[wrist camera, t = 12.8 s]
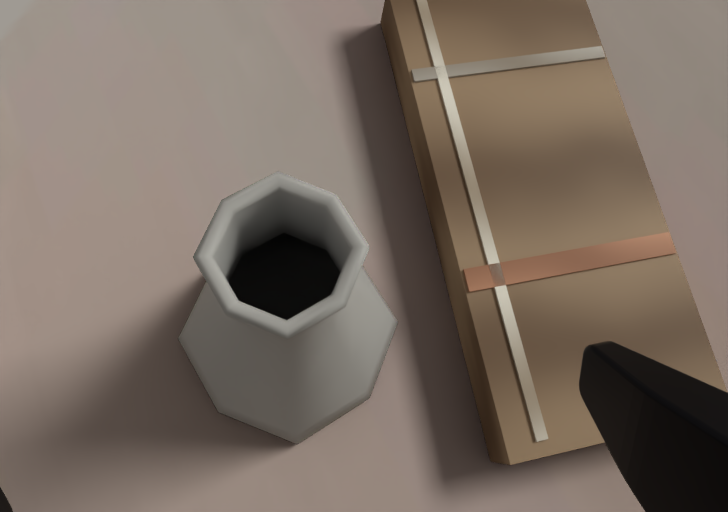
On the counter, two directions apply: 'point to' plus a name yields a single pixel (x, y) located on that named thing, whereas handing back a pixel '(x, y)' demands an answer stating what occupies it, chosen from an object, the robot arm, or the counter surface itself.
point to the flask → (286, 310)
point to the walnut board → (537, 211)
